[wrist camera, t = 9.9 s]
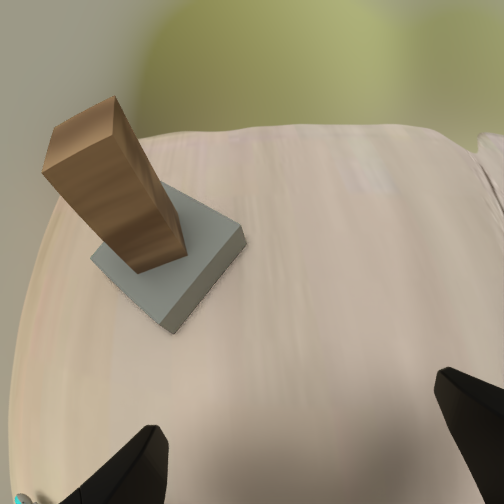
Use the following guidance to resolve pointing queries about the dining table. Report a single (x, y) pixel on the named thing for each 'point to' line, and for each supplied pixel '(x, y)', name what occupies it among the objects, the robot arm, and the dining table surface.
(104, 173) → the pillar
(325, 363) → the dining table surface
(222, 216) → the slate tile
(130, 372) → the dining table surface
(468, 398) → the robot arm
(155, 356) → the dining table surface
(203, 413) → the dining table surface
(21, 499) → the perfume bottle
